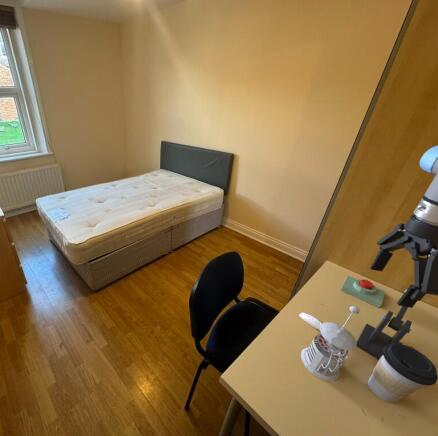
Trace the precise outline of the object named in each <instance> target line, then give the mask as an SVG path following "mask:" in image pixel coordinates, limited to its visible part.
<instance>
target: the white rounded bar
mask: <svg viewBox="0 0 438 436" xmlns="http://www.w3.org/2000/svg"><path fill="white" fill-rule="evenodd" d="M299 318H301V320H303V321H304V322H305V323H306V324H308V325H310V326H311V327H313V328H314V329H316V330H318V331H320V326H321V324H323V323H324V322H322V321H321V320H319V319H318V318H316V317H315V316H313V315H311V314H309V313H307V312H301V313H300V314H299Z"/></svg>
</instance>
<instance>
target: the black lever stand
mask: <svg viewBox="0 0 438 436" xmlns="http://www.w3.org/2000/svg"><path fill="white" fill-rule="evenodd" d="M393 315H394V312H393V311H391V310H388V311H387V313H386V314H384V315H382V316H381V318H380V322H379V323H378V324H377V325H376V326H375V327H374V326H372V325H371V324H368V323H366V324H365V326H364V327H363V329H362V331H361V333H360V335H359V336H358V338H357V340H356V342H357V345H356V348H359V349H360V350H362V351H363V352H365V353H366V354H368V355H370V356H371V357H373V358H374V359H376V360H378V361H379V360H380V358H381V356H382V355H383V348H384V347H385V346H387V345H389V344H403V345H404V343H403V342H401V340H402V339H403V338H404V337H405V336H406V335H407V334H410V332H411V331H412V328H411V326H412V323H413V321H411V320H409V319H407V320H405V321H404V323H403V325H402V327H401V328H400V329H399V330H398V331H395V333H394V335H393V336H390V335H388V334H387V333H385V332H383V330H384V329H385V328H386V326H388V324H389V322H390V320H391V319H392V318H393Z"/></svg>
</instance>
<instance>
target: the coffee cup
mask: <svg viewBox="0 0 438 436" xmlns="http://www.w3.org/2000/svg"><path fill="white" fill-rule="evenodd" d="M437 372H438V371H437V368H436V366H435V365H434V363H433V362H432V361H431V359H429V358H428V357H427V356H426V355H425V354H423V353H422V352H421V351H419V350H417V349H416V348H414V347H411V346H409V345H406V344H404V343H403V344H389V345H387V346H385V347H384V348H383V355H382V356H381V358H380V360H378V361H377V363H376V365H375V367H374V368H373V370H372V374H371V375H370V377H369V378H368V381H367V385H368V388H369V389H370V391H371V392H372V393H373V394H374V395H375V396H376V397H377V398H378V399H380V400H382V401H384V402H386V403H389V404H392V403H396V402H397V401H399V400H401V399H402V398H405V397H409V396H410V395H412V394H413V393H415V392H417V391H419V390H420V389H422V388H424V386H427V387H428V386H434V385H435V384H436V383H437V381H438V373H437Z"/></svg>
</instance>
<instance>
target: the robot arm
mask: <svg viewBox="0 0 438 436" xmlns="http://www.w3.org/2000/svg"><path fill="white" fill-rule="evenodd" d="M419 167H420V169H422V170H423V171H425V172H427V173H429V174H430V175H432V176H433V175H434V178H433V180H432V181H431V183H430V184H429V186H428V187H427V189H426V191H425V193H424V194H423V196H422V197H421V200H420V201H419V203H418V204H417V205H416V207H415V209H414V210H413V214H411V215H410V216H409V217H408V219H407V221H406V223H401V222H398V224H397V225H396V227H395V228H394V229H392V230H391V231H390V232H388V233H386V235H384V236H383V237H381V238H380V239H379V240H378V241H377V242H376V244H377V246H379V251H378V252H377V254H376V256H375V259H374V260H373V262H372V263H371V265H370V267H369V269H370V270H371V271H378V272H383V271H384V269H385V268H386V266H387V265H388V263H389V262H390V260H391V259H392V257H393V255H394V253H395V251H398V250H401V249H405V250H406V251H407V252H408V253H409V254H410V256H411V259H412V261H413V266H414V267H413V271H414V272H413V273H414V274H413V276H414V278H413V279H414V280H413V281H414V283H413V284H410V285H409V286H408V288H407V289H405V290H406V291H405V290H404V292H405V293H404V292H403V294H402V295H401V297H400V298H399V299H398V300H397V302H396V304H397V306H399V307H402V306H404V307H408V308H410V309H412V308H413V307H414V306H415V305H416V304H417V303H418V302H420V301H422V299H423V298H424V297H425V296H426V295H431V296H432V295H433V296H438V145H435V146H433V147H431V148H429V149H427V150H426V151H425V152H424V153H423V154H422V156H421V158H420V159H419Z"/></svg>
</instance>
